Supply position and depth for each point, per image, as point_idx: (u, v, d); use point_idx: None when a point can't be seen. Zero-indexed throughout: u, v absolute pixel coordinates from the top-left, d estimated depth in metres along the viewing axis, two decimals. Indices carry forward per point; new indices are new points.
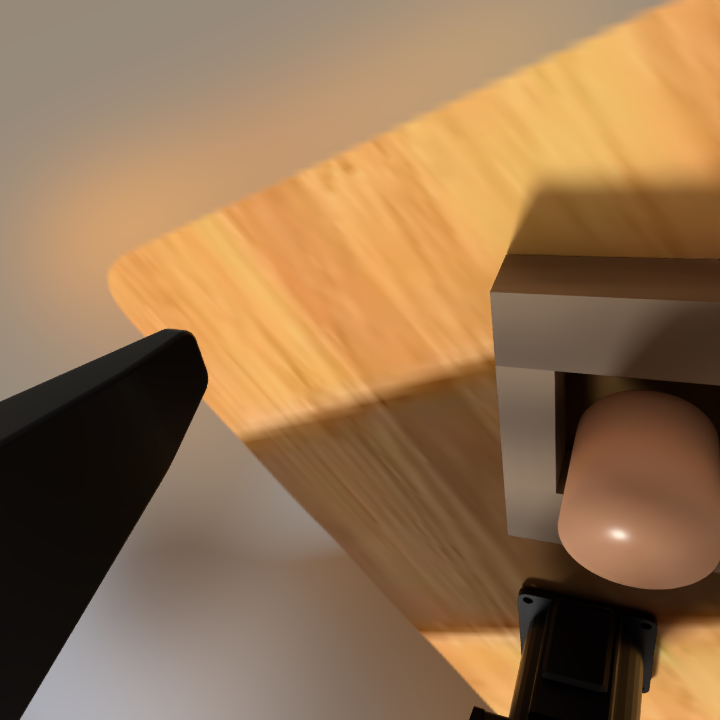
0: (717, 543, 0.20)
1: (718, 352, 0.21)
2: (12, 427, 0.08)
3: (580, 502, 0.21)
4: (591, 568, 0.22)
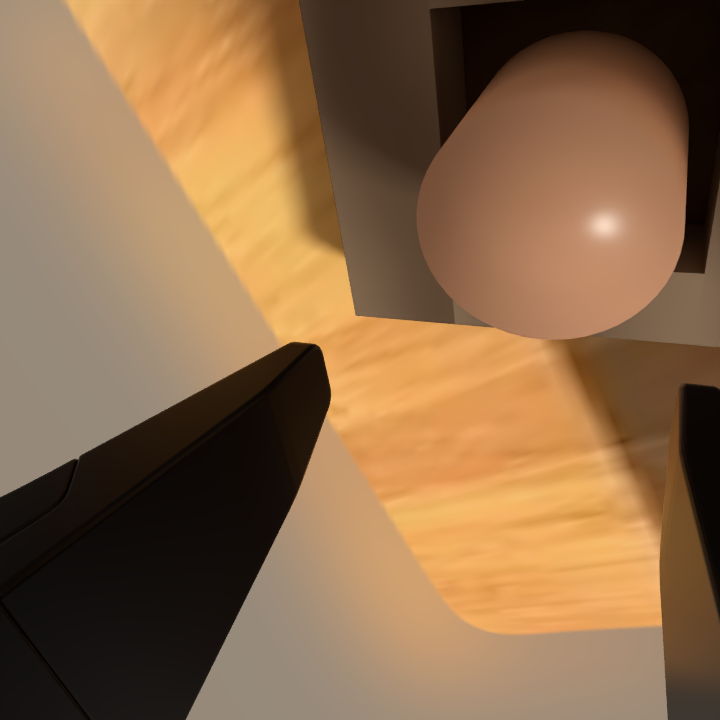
0: (512, 110, 0.11)
1: (381, 71, 0.16)
2: (161, 455, 0.07)
3: (474, 304, 0.14)
4: (641, 300, 0.12)
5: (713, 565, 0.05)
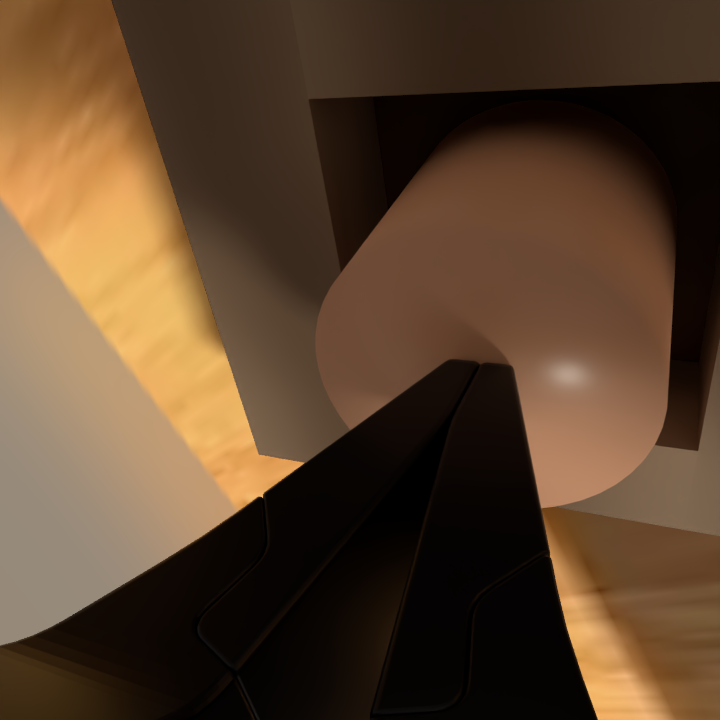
0: (427, 237, 0.08)
1: (254, 176, 0.11)
2: (359, 493, 0.06)
3: None
4: (610, 475, 0.09)
5: (427, 509, 0.06)
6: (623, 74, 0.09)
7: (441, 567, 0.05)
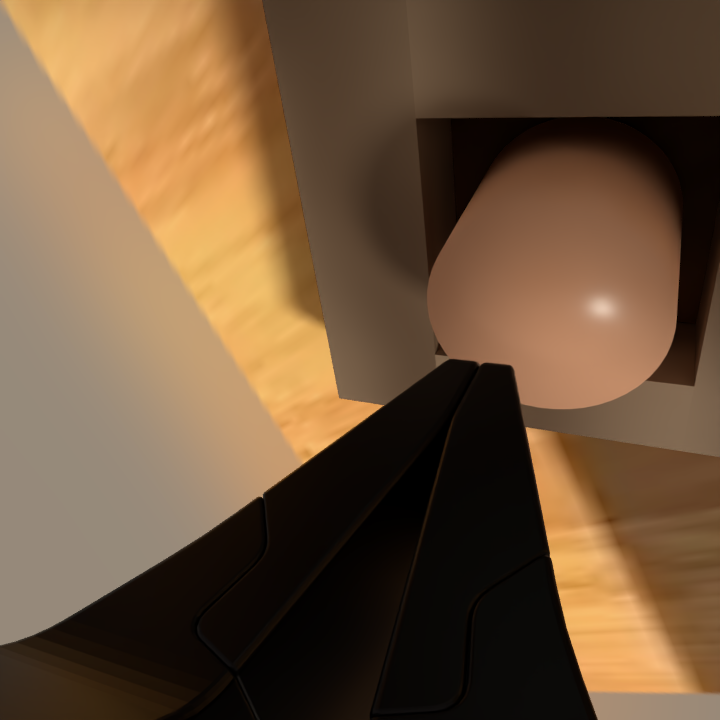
0: (519, 210, 0.12)
1: (365, 173, 0.15)
2: (359, 494, 0.06)
3: None
4: (634, 379, 0.13)
5: (426, 510, 0.06)
6: (649, 109, 0.12)
7: (441, 567, 0.05)
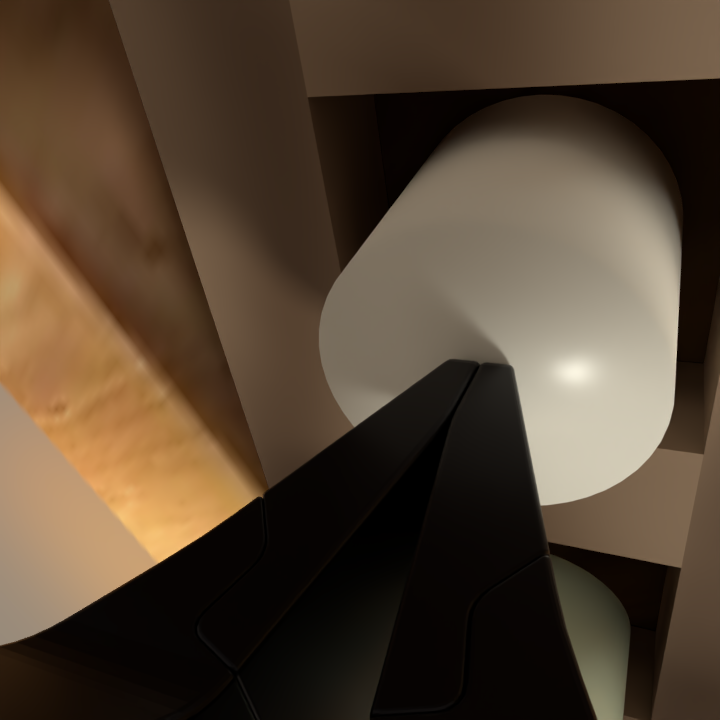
0: None
1: None
2: (360, 494, 0.06)
3: None
4: None
5: (426, 509, 0.06)
6: None
7: (441, 567, 0.05)
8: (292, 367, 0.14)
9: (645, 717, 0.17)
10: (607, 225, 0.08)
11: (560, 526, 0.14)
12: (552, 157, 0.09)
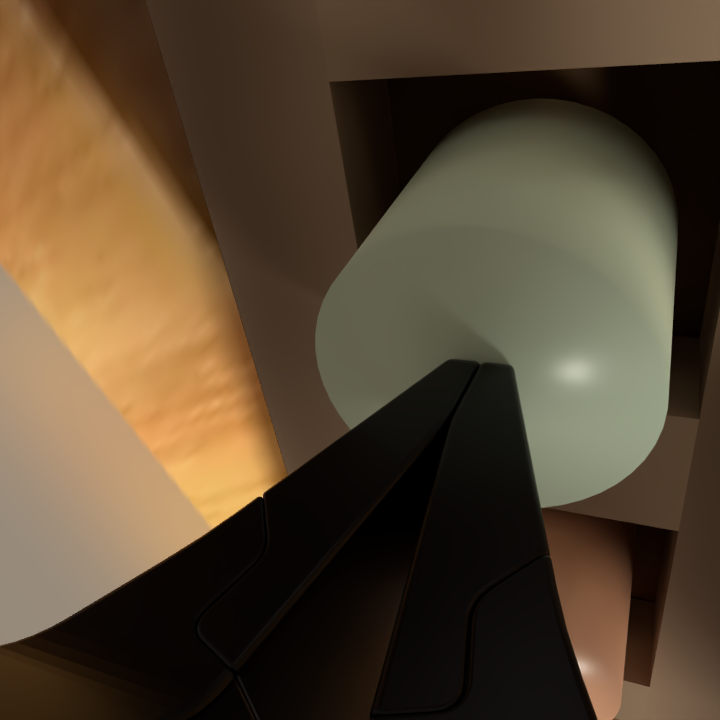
0: None
1: None
2: (360, 494, 0.06)
3: None
4: None
5: (426, 509, 0.06)
6: (594, 511, 0.14)
7: (440, 567, 0.05)
8: None
9: (691, 414, 0.12)
10: None
11: (580, 23, 0.09)
12: None
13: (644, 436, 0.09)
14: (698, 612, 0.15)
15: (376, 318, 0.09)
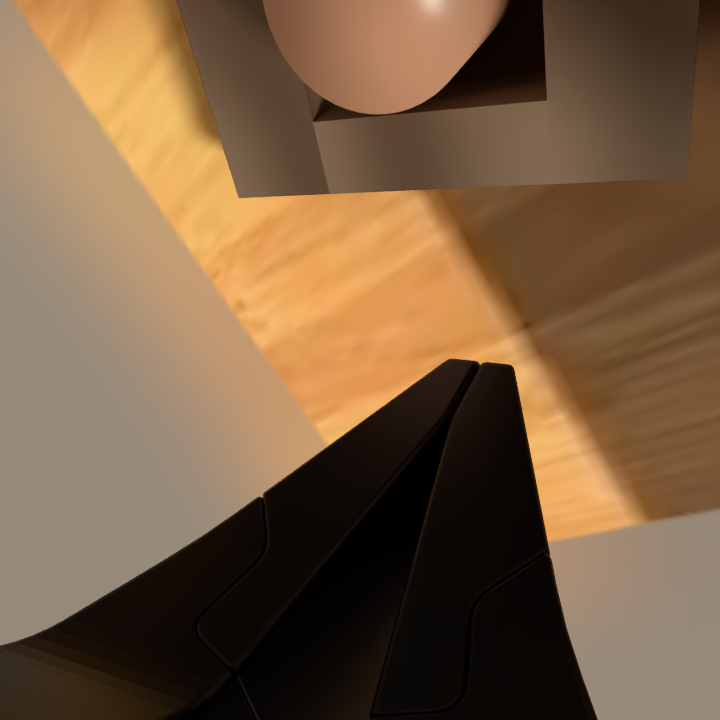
0: None
1: None
2: (359, 494, 0.06)
3: (325, 87, 0.15)
4: (459, 52, 0.14)
5: (427, 509, 0.06)
6: None
7: (441, 567, 0.05)
8: None
9: None
10: None
11: None
12: None
13: None
14: None
15: None
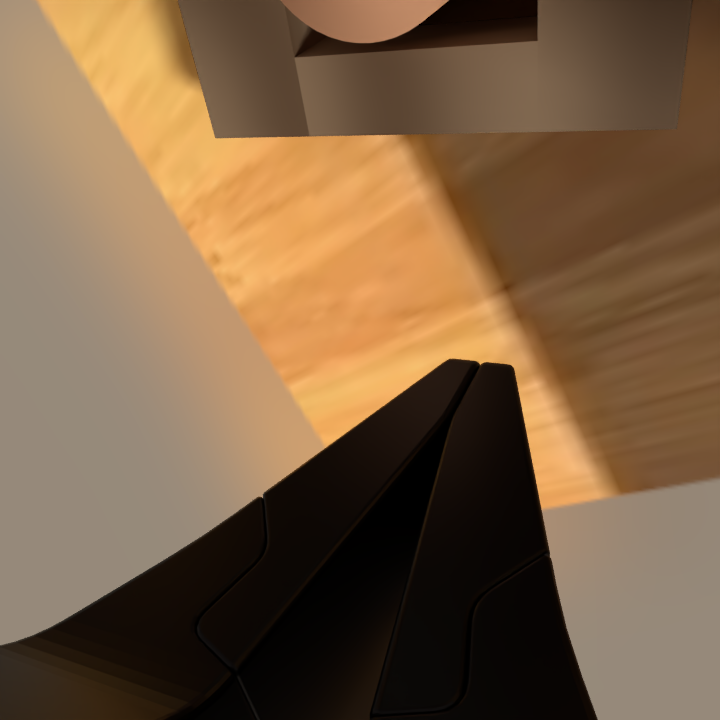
0: None
1: None
2: (359, 494, 0.06)
3: (307, 11, 0.14)
4: None
5: (426, 510, 0.06)
6: None
7: (440, 567, 0.05)
8: None
9: None
10: None
11: None
12: None
13: None
14: None
15: None
